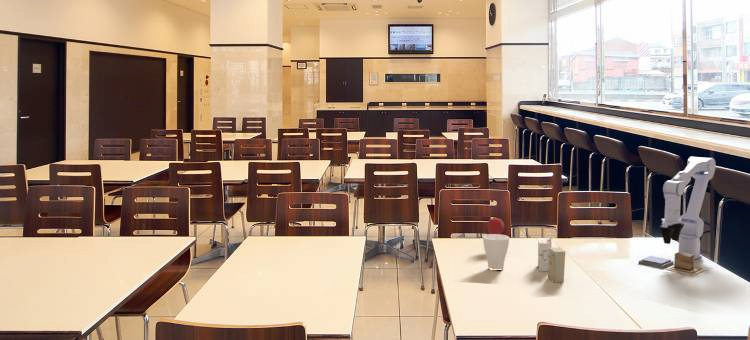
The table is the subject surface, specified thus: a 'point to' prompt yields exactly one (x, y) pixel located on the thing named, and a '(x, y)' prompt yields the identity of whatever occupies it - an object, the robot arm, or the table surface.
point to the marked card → (692, 272)
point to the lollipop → (495, 226)
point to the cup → (495, 249)
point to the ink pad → (656, 262)
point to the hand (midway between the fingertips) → (670, 241)
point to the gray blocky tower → (543, 253)
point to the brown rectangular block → (684, 261)
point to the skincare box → (556, 264)
